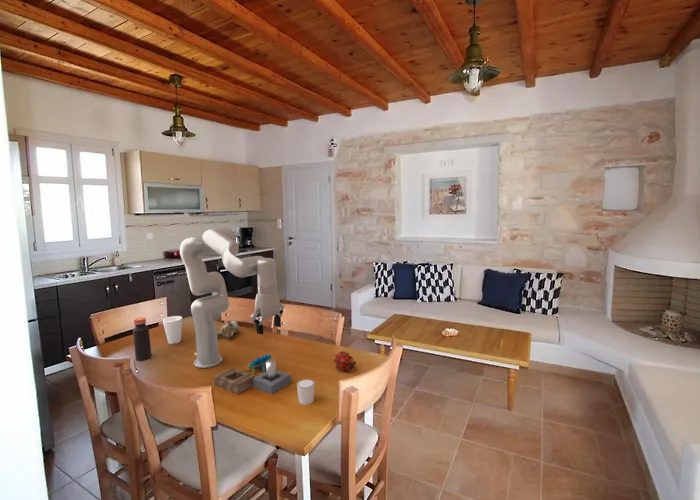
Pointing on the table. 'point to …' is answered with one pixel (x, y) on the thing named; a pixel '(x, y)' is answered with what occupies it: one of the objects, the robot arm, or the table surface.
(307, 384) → the white fluted cup
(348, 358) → the dragon fruit
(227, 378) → the brown rectangular frame
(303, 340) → the table surface
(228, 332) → the ceramic sculpture
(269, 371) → the axle
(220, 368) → the table surface
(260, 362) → the gear
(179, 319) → the foam cup
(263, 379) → the socket block
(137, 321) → the bottle
